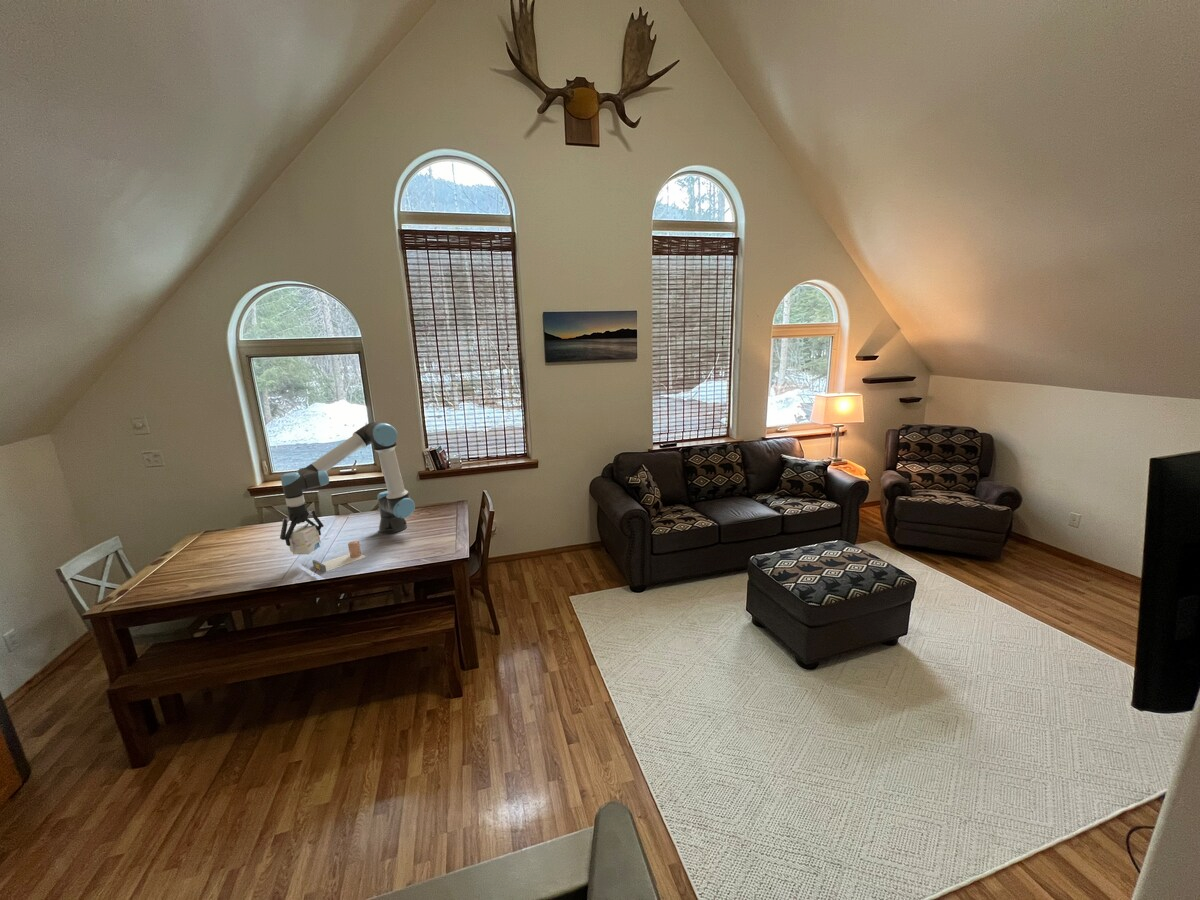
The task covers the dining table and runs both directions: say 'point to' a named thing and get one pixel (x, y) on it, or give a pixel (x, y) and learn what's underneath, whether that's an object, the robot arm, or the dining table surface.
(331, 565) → the shelf board
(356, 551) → the tan glossy oval piece
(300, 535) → the ink box
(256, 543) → the dining table surface
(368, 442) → the robot arm
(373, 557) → the dining table surface
